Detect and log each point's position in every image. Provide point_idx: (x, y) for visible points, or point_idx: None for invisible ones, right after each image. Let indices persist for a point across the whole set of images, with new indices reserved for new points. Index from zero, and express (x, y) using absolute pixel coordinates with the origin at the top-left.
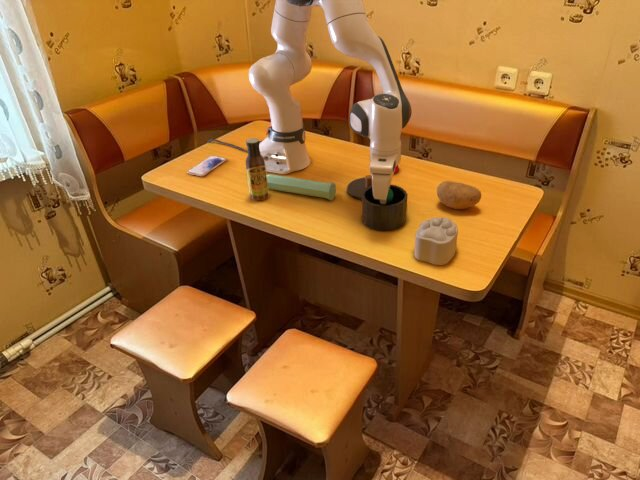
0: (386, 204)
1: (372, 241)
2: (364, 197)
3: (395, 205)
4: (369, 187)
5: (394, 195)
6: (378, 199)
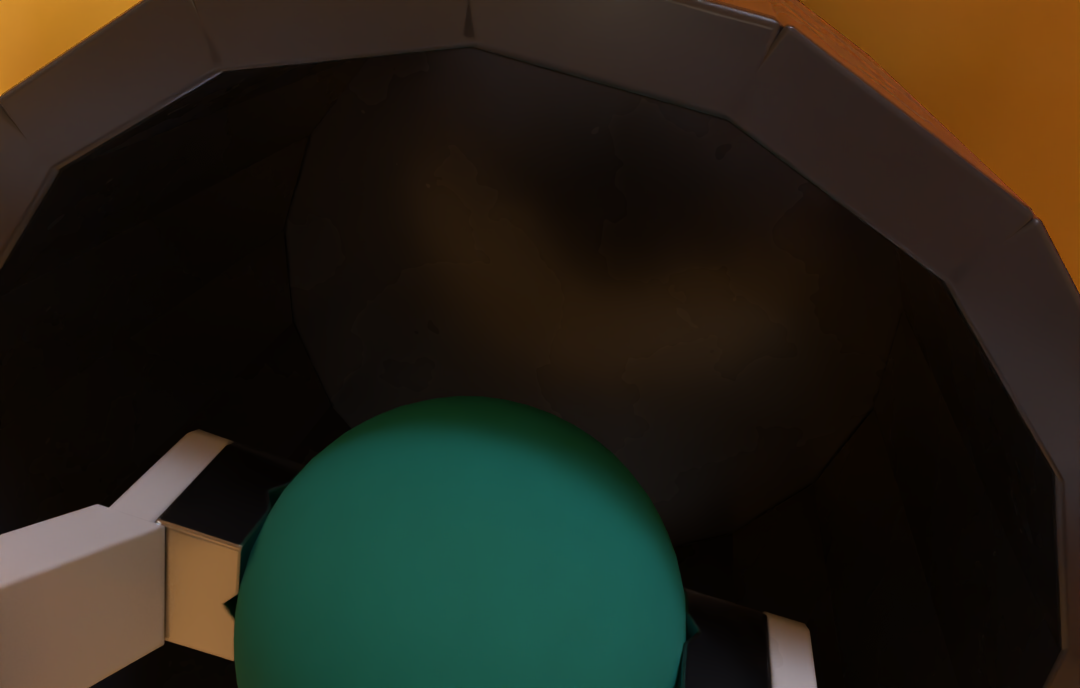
0: (884, 430)
1: (6, 60)
2: (292, 43)
3: None
4: (1025, 313)
5: (828, 678)
6: (366, 422)
